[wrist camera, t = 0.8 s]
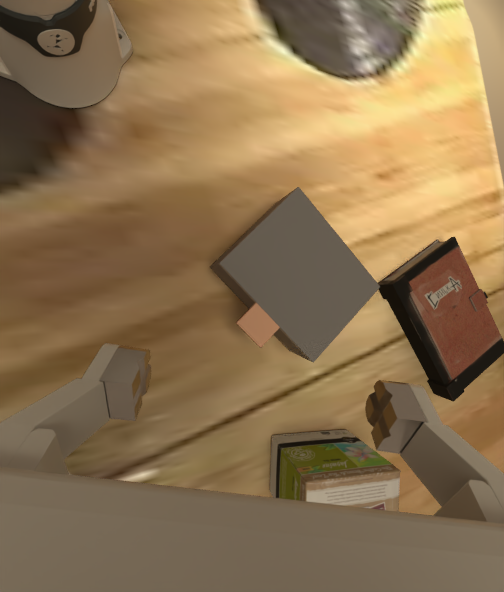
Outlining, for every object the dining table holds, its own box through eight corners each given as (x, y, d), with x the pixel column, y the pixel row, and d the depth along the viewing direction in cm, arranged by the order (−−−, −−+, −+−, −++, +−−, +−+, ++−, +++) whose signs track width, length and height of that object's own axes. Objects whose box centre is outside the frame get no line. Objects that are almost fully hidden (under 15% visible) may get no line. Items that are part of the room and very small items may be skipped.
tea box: (345, 426, 60) (404, 469, 45) (343, 479, 60) (400, 539, 45) (269, 433, 55) (307, 483, 41) (267, 490, 56) (303, 560, 41)
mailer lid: (197, 283, 43) (198, 283, 42) (296, 188, 47) (298, 186, 46) (293, 381, 47) (295, 382, 47) (376, 286, 51) (380, 286, 50)
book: (487, 343, 69) (512, 348, 64) (431, 393, 65) (453, 401, 61) (437, 238, 65) (459, 234, 60) (374, 284, 61) (392, 284, 56)
